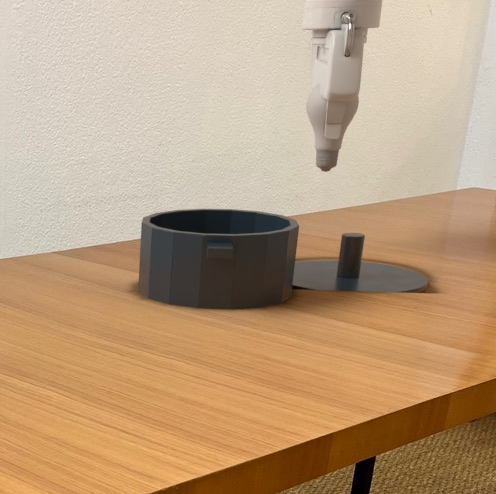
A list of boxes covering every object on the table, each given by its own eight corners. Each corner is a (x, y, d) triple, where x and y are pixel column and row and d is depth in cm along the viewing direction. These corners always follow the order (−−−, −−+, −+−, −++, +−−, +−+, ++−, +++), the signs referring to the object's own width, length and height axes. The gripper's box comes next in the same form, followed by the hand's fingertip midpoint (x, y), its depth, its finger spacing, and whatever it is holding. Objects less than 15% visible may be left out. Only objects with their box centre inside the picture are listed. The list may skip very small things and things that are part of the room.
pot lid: (410, 272, 123) (418, 222, 121) (440, 307, 108) (450, 251, 106) (265, 268, 126) (270, 220, 124) (275, 302, 111) (281, 247, 109)
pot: (281, 283, 119) (289, 206, 115) (296, 332, 100) (307, 242, 97) (142, 279, 122) (146, 203, 118) (132, 326, 103) (137, 238, 99)
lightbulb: (305, 168, 136) (314, 76, 131) (354, 169, 133) (365, 75, 129) (295, 173, 131) (304, 78, 126) (346, 175, 128) (357, 77, 124)
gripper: (382, 11, 115) (366, 144, 121) (358, 12, 133) (345, 128, 139) (322, 13, 116) (309, 145, 122) (307, 14, 134) (296, 128, 140)
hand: (328, 136), depth 130 cm, fingers closed on lightbulb, 5 cm apart
